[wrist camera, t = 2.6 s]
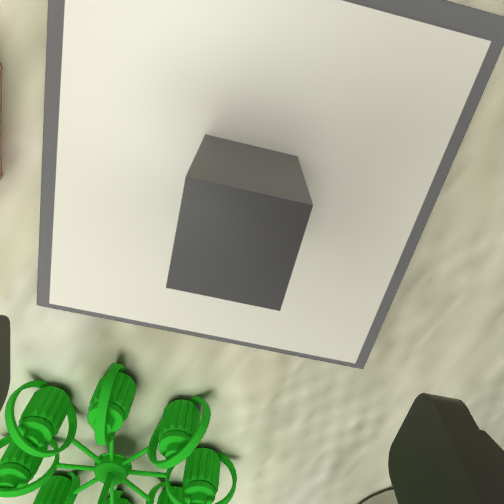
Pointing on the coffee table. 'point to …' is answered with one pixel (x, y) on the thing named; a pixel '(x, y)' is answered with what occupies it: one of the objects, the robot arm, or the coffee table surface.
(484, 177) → the coffee table surface
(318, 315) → the lid
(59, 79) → the mat
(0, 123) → the bowl
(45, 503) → the chandelier
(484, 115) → the coffee table surface
